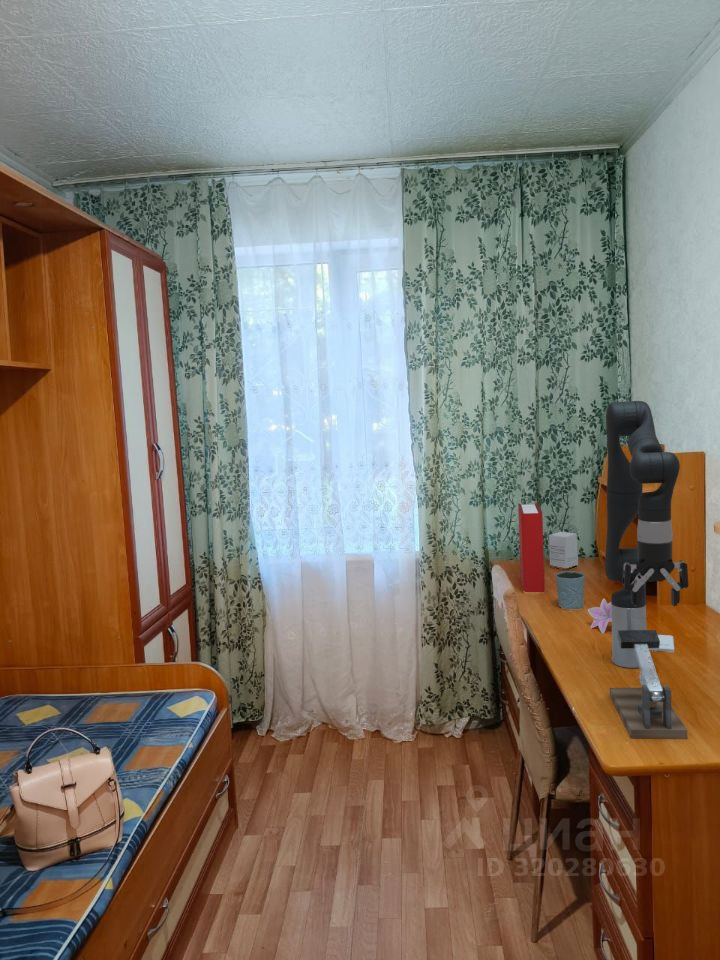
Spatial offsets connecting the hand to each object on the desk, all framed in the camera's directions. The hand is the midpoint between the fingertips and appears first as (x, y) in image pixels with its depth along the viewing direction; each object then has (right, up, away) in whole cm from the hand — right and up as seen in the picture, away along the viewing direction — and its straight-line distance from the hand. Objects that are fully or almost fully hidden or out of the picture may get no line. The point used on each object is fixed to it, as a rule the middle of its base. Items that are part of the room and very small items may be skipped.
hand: (655, 605), depth 173 cm
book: (+1, -14, +127) cm, 127 cm away
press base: (-1, -27, +4) cm, 27 cm away
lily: (+11, -20, +69) cm, 72 cm away
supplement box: (+21, -9, +154) cm, 155 cm away
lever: (-1, -17, +3) cm, 17 cm away
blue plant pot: (+7, -17, +95) cm, 96 cm away
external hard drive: (+22, -21, +52) cm, 60 cm away
